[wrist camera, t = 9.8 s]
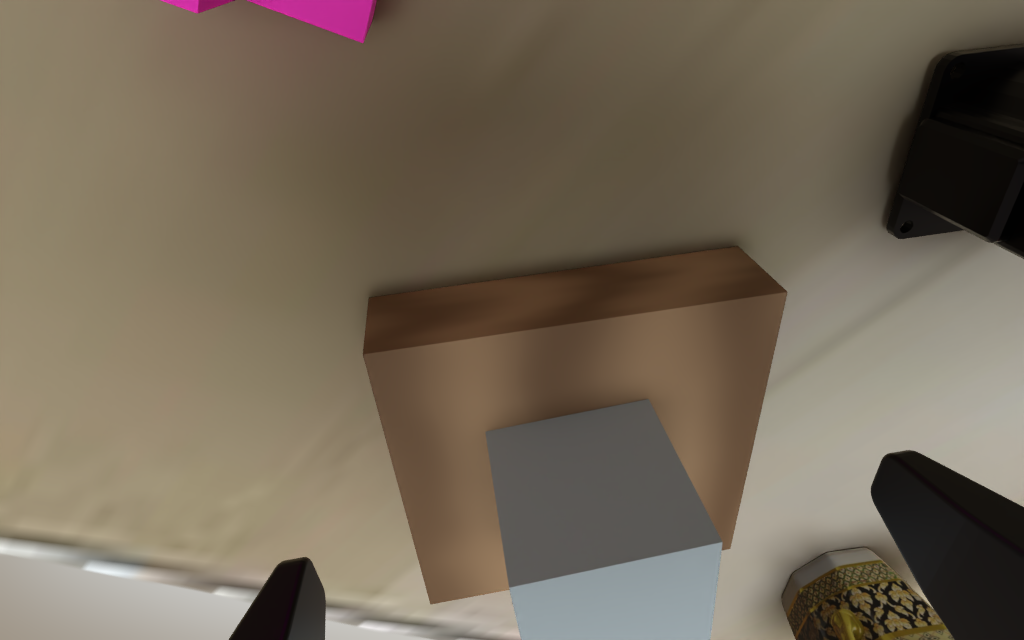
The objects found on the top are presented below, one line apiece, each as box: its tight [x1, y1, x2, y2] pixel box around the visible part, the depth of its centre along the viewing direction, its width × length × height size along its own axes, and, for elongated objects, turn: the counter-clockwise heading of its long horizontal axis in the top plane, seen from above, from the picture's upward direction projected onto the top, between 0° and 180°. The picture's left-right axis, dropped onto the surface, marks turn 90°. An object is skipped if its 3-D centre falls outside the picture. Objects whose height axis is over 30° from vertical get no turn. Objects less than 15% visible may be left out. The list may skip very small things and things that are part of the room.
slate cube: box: [485, 399, 723, 640], centre depth 20 cm, size 6×6×6 cm
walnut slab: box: [363, 246, 787, 604], centre depth 24 cm, size 14×14×4 cm
